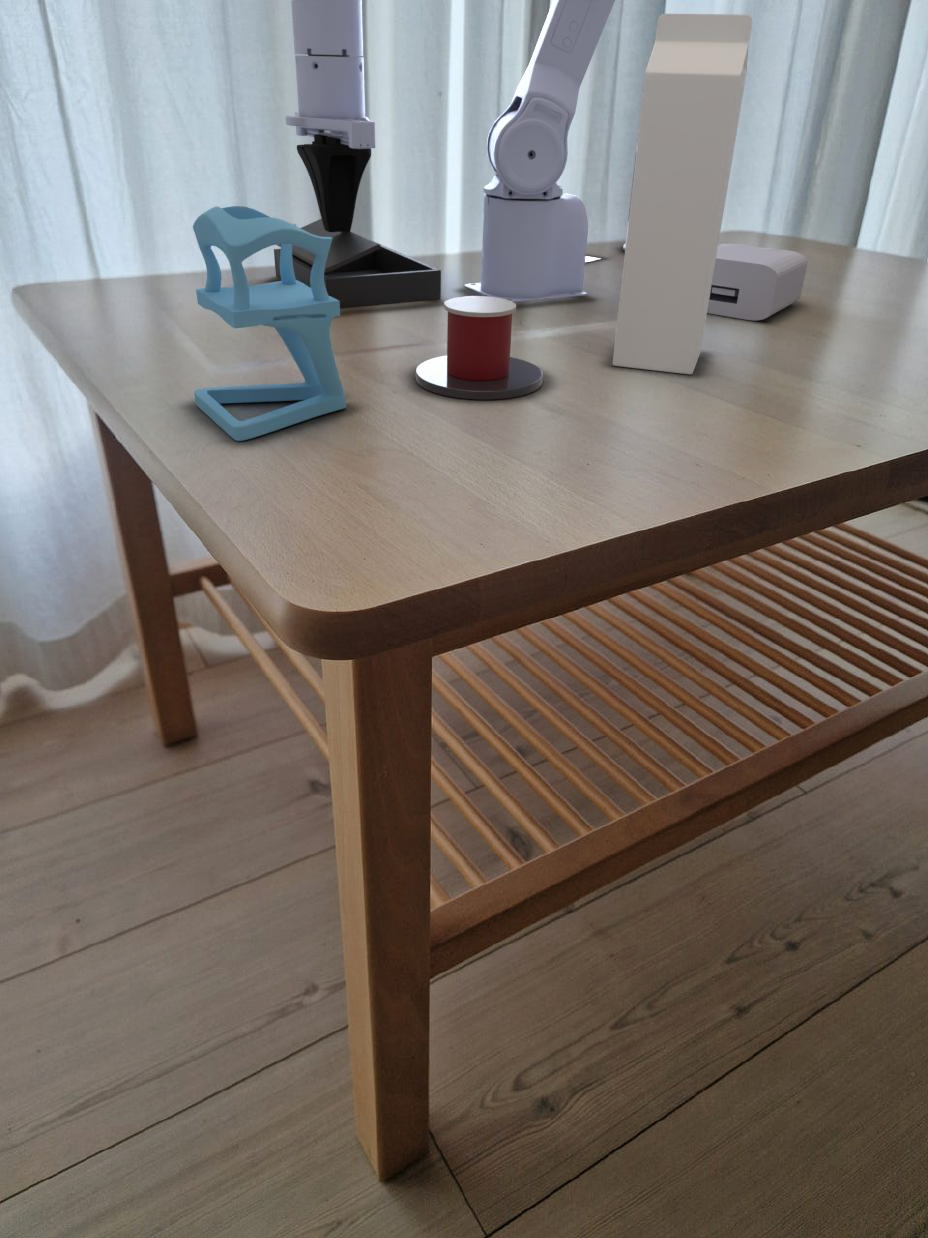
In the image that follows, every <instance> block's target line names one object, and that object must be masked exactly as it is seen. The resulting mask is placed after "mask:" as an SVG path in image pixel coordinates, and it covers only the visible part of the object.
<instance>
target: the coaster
mask: <svg viewBox="0 0 928 1238" xmlns="http://www.w3.org/2000/svg"><path fill="white" fill-rule="evenodd" d="M543 379H544V373H543V371H542V370H541V368H540V367H538V366H537V365H536V364H535V363H533V362H532V363H531V362H529V361H526V360H524V359H521V358H516V357H512V356H510V367H509V374H508V375H507V376H506V377H503V378H500V379H496V380H489V381H473V380H465V379H460V378H456V377H454V376H451V375H450V374H449V373H448V372H447V354H446V355H441V356H436V357H432V358H430V359H427V360H425V361H423V362H421V363H419V364H418V365H417V366H416V368H415V382H416V383H417V384H418V386H420V387H421V388H422V389H424V390H426V391H429V392H431V393H434V394H437V395H441V396H446V397H450V398H456V399H462V400H463V399H465V400H477V401H479V400H480V401H481V400H483V401H489V400H491V401H492V400H494V401H495V400H504V399H506V400H507V399H512V398H517V397H518V398H519V397H523V396H526V395H529V394H532V393H533V392H535V391H537V390H539V388H541V386H542V385H543V381H544V380H543Z"/></svg>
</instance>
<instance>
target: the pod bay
mask: <svg viewBox="0 0 928 1238" xmlns="http://www.w3.org/2000/svg"><path fill="white" fill-rule="evenodd" d="M377 243H378V244H380V247H381V248H380V249H378V250H376V251H374V252H372V253H370V254H367V255H365V256H363V257H361V258H359V259H357V260H354V261H352V262H350V263H348V264H346V265H344V266H342V267H339V268H337V269H335V270H333V271H331V272H329V273H326V272H324V283H325V288H326V291H327V293H328V296H331V297H333V298H335V299H337V300H339V301H340V310H342V309H352V308H361V307H362V308H363V307H373V306H384V305H395V304H396V305H397V304H407V303H417V302H428V301H438V300H439V301H440V300H441V298H442V270H441V269H439V268H437V267H434V266H432V265H429V264H427V263H425V262H422V261H420V260H418V259H416V258H413V257H411V256H409V255H406V254H405V253H401V252H399V251H397V250H394V249H393V248H391V247H387V246H385V245H384V244H381V243H379V242H377ZM280 251H281V248H274V249H273V256H274V257H273V258H274V259H273V260H274V270H275V271H274V272H275V277H276V278H277V279H278V280H281V275H280ZM292 261H293V269H294V275H295V279H296V280H297V281H299V282H302V283H304V284H305V285H307V286H308V287H310V288H311V285H310V275H311V270H312V267H313V265H311V264H309V263H308V262H306V261H304V260H302V259H300V258H299V257H297V256H295V255H293V254H292Z"/></svg>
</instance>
